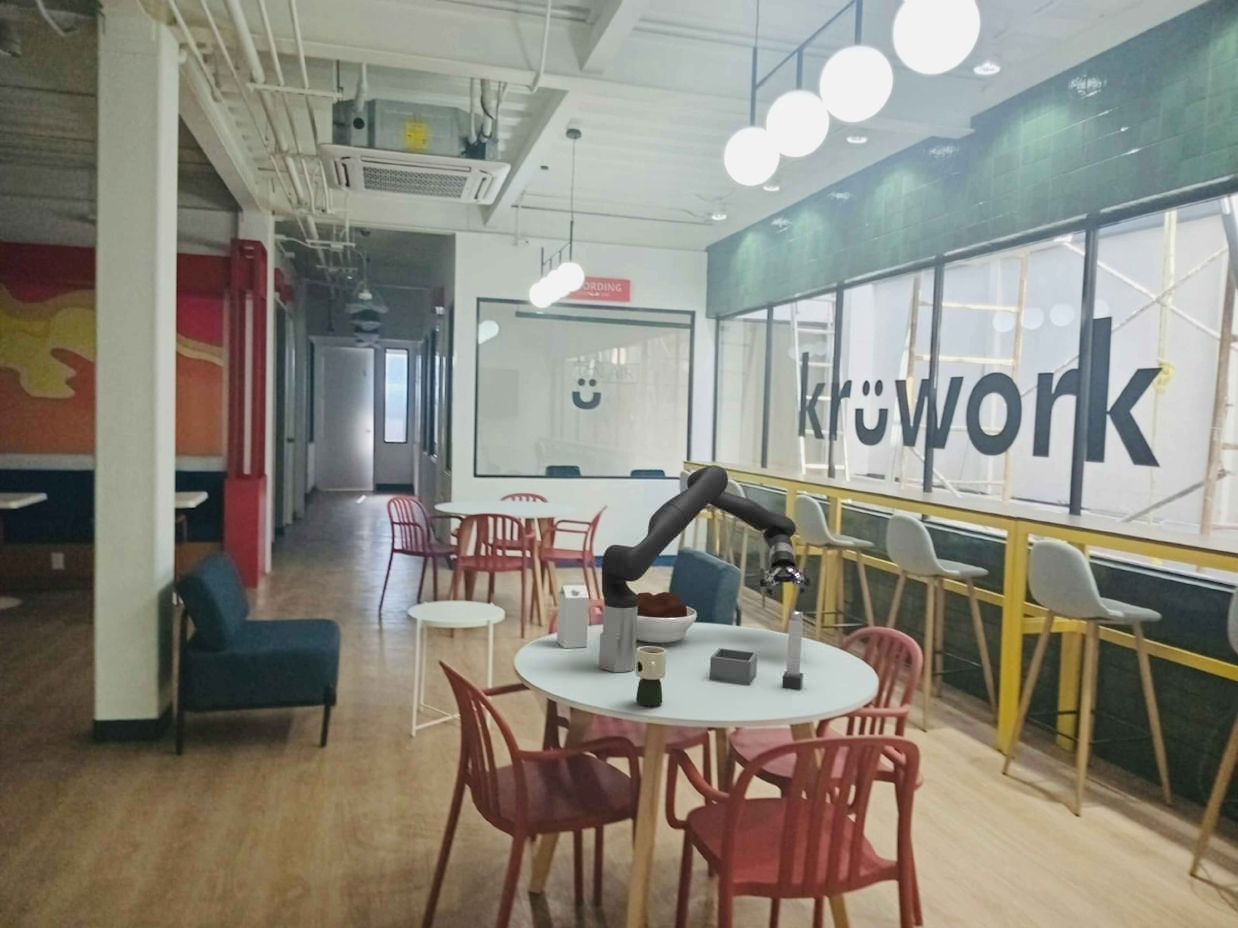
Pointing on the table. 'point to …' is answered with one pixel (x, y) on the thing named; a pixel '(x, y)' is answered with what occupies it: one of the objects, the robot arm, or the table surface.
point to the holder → (733, 666)
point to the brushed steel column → (794, 652)
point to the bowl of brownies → (662, 618)
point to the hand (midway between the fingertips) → (785, 591)
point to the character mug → (650, 674)
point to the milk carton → (573, 615)
